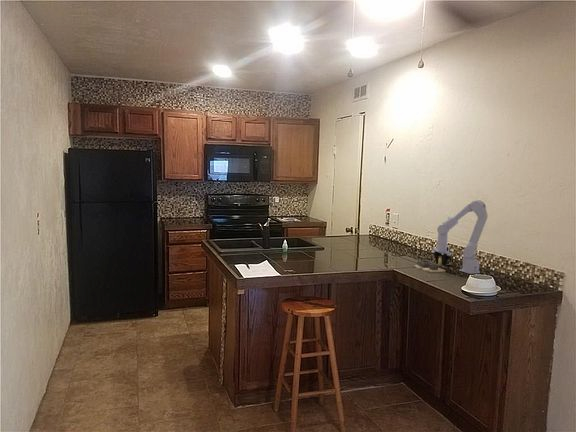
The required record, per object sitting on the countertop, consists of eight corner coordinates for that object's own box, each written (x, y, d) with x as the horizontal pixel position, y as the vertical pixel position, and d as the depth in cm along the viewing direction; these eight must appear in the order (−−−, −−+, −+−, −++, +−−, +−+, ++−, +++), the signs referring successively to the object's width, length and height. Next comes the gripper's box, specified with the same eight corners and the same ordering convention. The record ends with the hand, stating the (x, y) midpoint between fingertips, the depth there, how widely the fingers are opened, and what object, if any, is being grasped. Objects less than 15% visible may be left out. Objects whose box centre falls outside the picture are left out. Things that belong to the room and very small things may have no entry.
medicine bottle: (441, 264, 291) (442, 246, 289) (435, 262, 298) (436, 244, 296) (451, 264, 292) (452, 246, 291) (445, 262, 299) (446, 244, 298)
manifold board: (445, 271, 272) (445, 265, 271) (430, 272, 268) (430, 266, 267) (427, 265, 287) (428, 259, 287) (413, 266, 284) (413, 260, 283)
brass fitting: (444, 267, 282) (445, 257, 281) (440, 268, 281) (441, 257, 280) (441, 266, 285) (441, 256, 285) (436, 267, 284) (437, 256, 283)
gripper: (429, 241, 287) (428, 262, 288) (444, 245, 273) (443, 267, 275) (438, 241, 289) (437, 261, 291) (454, 245, 276) (452, 266, 277)
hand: (440, 264), depth 283 cm, fingers open, 5 cm apart
